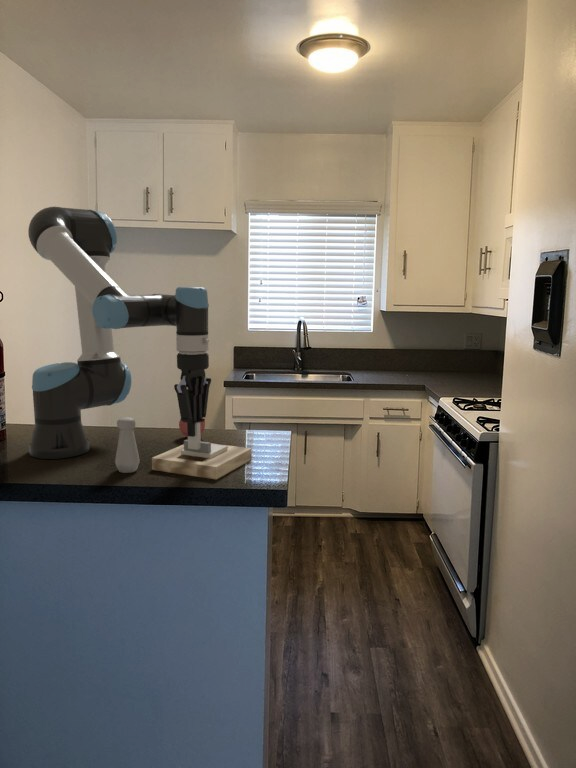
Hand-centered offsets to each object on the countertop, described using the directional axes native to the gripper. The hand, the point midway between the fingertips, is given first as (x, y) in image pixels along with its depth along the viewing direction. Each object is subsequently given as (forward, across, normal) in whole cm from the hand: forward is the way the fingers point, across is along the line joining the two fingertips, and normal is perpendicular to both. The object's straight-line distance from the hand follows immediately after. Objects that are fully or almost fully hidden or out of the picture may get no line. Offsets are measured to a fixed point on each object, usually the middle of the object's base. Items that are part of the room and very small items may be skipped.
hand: (194, 448), depth 153 cm
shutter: (+2, +5, 0) cm, 5 cm away
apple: (+5, +26, +17) cm, 31 cm away
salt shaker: (+5, -8, +14) cm, 17 cm away
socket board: (+5, +4, 0) cm, 7 cm away
